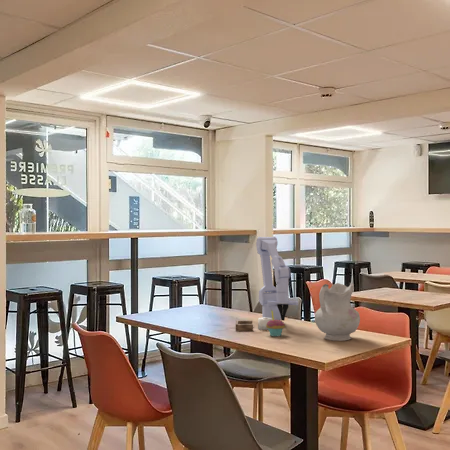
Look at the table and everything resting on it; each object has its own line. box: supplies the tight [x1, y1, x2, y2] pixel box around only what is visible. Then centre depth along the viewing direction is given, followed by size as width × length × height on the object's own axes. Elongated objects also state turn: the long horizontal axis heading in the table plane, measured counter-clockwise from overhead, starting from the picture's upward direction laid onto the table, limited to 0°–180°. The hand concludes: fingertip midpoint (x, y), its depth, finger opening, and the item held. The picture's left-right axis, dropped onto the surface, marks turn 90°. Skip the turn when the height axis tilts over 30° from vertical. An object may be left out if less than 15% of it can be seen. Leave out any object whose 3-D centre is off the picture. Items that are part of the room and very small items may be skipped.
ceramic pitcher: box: [314, 282, 361, 342], centre depth 247 cm, size 22×20×25 cm
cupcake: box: [266, 309, 286, 337], centre depth 256 cm, size 9×8×12 cm
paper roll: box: [257, 316, 272, 331], centre depth 272 cm, size 7×7×5 cm
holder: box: [235, 320, 254, 332], centre depth 272 cm, size 8×11×3 cm
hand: (282, 320), depth 272 cm, fingers closed
